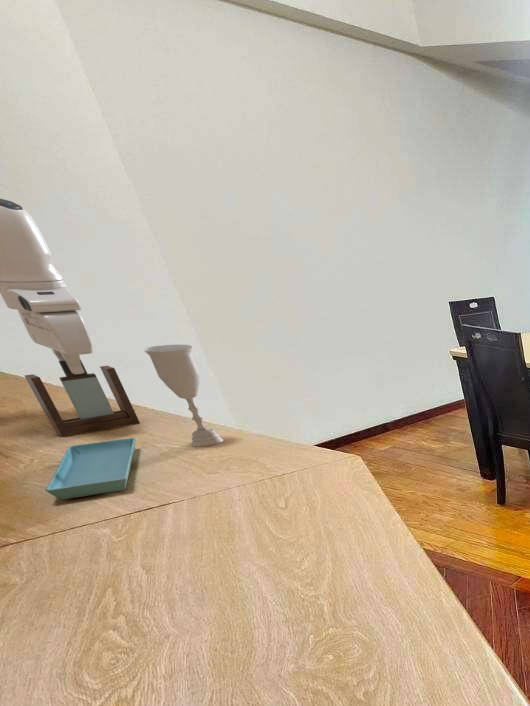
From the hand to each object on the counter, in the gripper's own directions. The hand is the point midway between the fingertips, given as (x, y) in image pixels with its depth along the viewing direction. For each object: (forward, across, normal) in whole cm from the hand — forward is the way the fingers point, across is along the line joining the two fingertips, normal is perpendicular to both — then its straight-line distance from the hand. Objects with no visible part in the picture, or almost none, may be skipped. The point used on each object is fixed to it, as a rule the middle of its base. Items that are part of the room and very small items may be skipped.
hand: (75, 372), depth 117 cm
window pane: (+10, 0, 0) cm, 10 cm away
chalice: (+11, +26, +8) cm, 29 cm away
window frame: (+11, 0, -1) cm, 11 cm away
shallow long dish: (+11, +31, -9) cm, 34 cm away
